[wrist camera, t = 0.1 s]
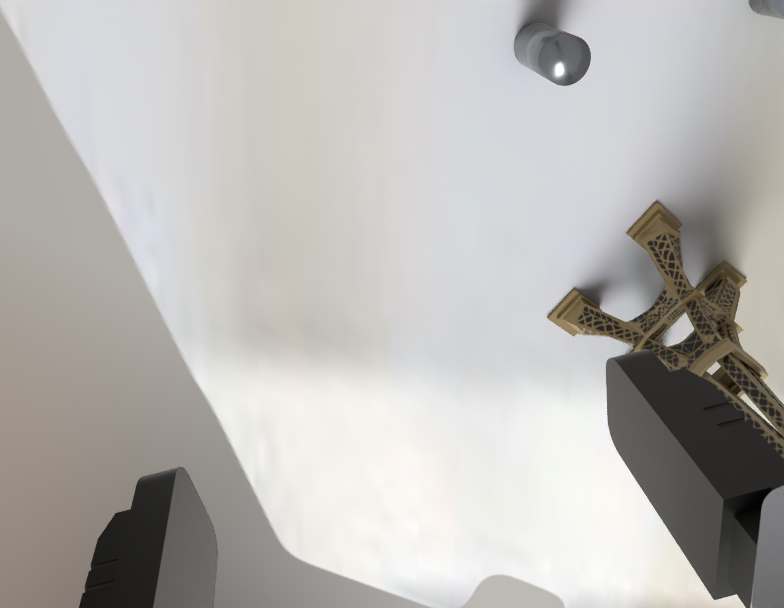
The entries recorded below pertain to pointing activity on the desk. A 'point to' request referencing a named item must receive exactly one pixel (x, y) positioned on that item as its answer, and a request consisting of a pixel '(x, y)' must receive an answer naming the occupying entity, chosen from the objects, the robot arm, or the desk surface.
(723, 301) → the eiffel tower
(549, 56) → the spacer posts
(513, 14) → the desk surface
